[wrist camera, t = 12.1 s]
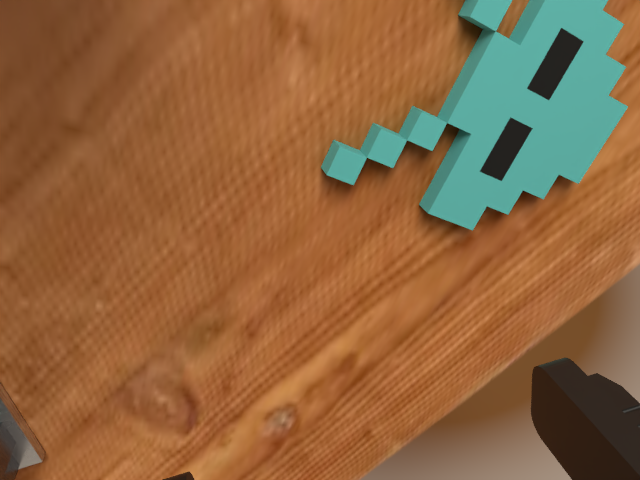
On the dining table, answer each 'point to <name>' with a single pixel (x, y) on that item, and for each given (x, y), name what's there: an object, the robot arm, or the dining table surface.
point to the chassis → (15, 440)
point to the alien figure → (510, 110)
